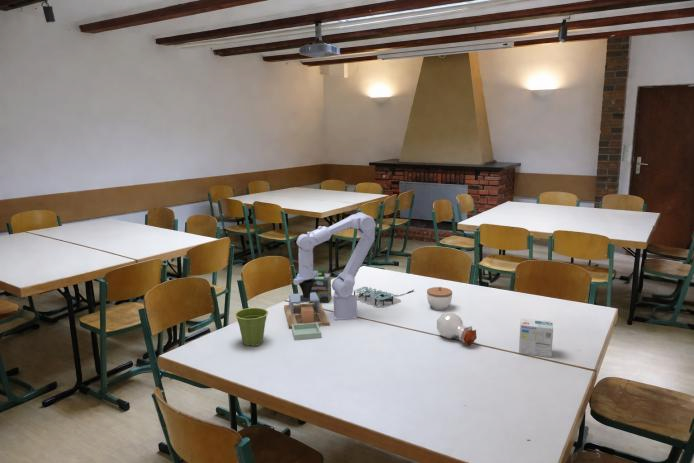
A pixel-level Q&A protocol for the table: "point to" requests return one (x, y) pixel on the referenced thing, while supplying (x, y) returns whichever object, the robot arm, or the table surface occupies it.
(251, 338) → the plant pot
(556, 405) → the table surface
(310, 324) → the tray
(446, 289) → the lidded jar
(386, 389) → the table surface
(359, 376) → the table surface
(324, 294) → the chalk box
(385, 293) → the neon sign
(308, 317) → the block
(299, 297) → the cover
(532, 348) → the light bulb box
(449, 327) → the potion bottle
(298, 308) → the board
